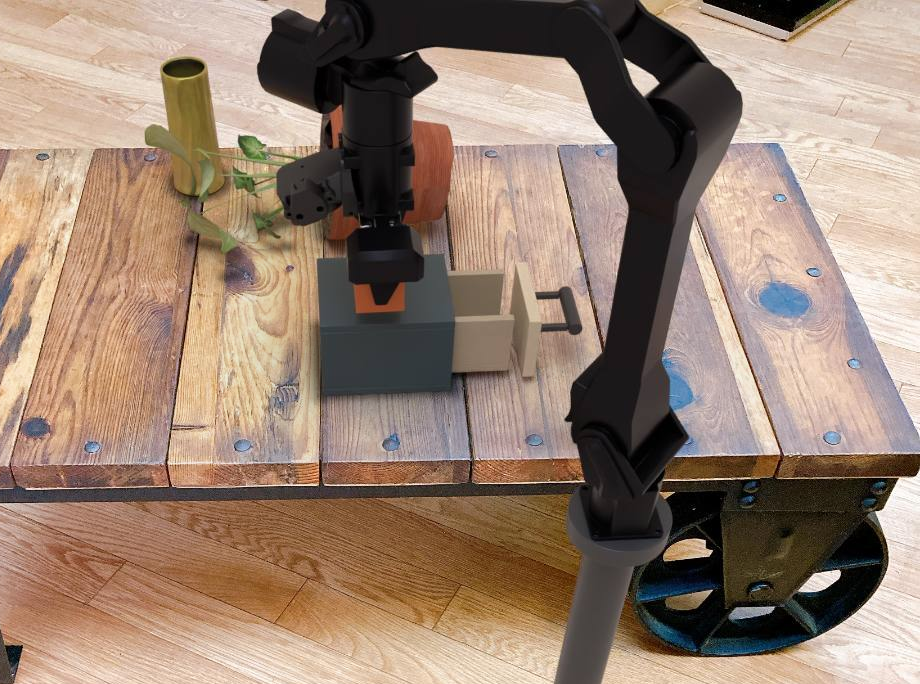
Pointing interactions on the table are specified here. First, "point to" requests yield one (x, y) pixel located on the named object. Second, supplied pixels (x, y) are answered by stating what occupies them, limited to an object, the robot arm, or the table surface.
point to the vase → (191, 120)
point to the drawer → (502, 319)
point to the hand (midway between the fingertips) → (378, 288)
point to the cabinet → (386, 335)
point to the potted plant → (427, 139)
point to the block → (366, 301)
